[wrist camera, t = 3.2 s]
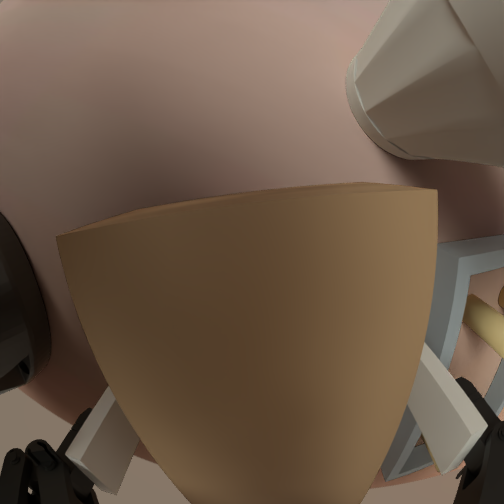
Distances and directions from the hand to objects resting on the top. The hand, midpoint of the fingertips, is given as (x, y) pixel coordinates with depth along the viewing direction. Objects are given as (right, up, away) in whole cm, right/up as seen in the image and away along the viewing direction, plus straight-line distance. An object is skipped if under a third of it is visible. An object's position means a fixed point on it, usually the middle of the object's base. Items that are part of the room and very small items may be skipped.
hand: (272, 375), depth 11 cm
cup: (+7, +13, -1) cm, 15 cm away
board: (0, 0, -2) cm, 2 cm away
